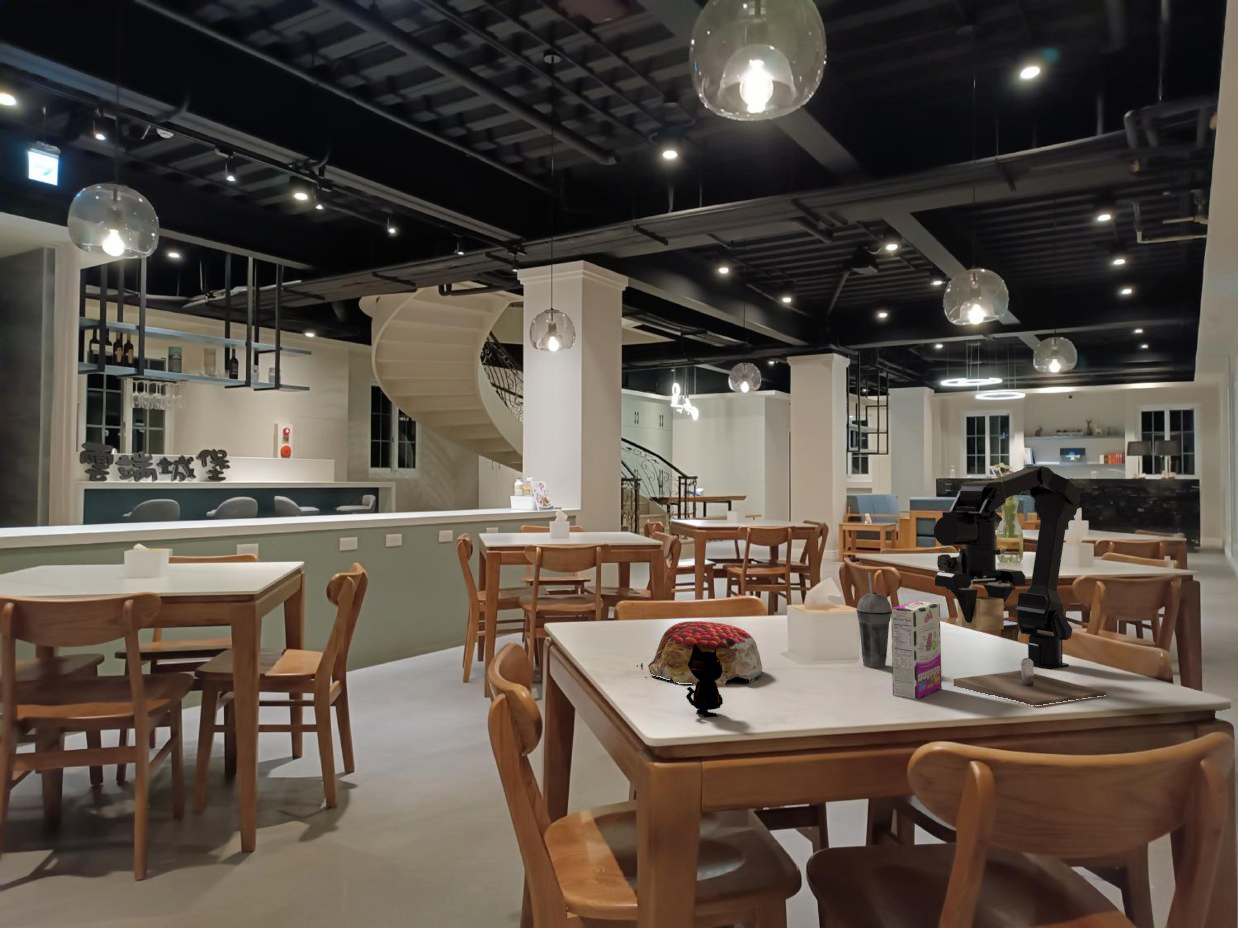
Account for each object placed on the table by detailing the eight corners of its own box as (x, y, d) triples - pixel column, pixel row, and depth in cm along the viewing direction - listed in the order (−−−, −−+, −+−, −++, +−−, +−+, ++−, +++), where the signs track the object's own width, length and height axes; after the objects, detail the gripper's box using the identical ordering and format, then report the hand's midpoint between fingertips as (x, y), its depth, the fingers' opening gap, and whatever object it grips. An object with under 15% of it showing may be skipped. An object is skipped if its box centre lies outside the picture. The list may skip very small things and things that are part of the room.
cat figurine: (734, 720, 133) (734, 647, 133) (700, 727, 130) (700, 651, 130) (709, 710, 139) (709, 640, 139) (675, 715, 136) (676, 644, 136)
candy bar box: (916, 685, 157) (916, 600, 157) (942, 690, 153) (941, 602, 153) (890, 696, 148) (889, 606, 149) (917, 701, 145) (916, 609, 145)
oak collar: (980, 623, 168) (980, 594, 168) (1003, 628, 162) (1003, 598, 162) (957, 625, 166) (957, 596, 166) (980, 630, 160) (980, 600, 160)
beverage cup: (899, 667, 171) (899, 572, 172) (871, 670, 168) (871, 574, 169) (876, 660, 178) (876, 569, 178) (849, 663, 175) (849, 570, 176)
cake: (624, 668, 171) (624, 621, 171) (718, 656, 183) (718, 612, 183) (684, 693, 151) (684, 639, 151) (786, 678, 163) (786, 628, 163)
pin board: (1021, 677, 163) (1021, 645, 163) (1106, 700, 146) (1106, 663, 146) (953, 686, 156) (953, 652, 156) (1034, 711, 139) (1034, 672, 139)
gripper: (984, 540, 175) (984, 612, 175) (915, 542, 168) (915, 617, 168) (1027, 543, 165) (1027, 621, 164) (955, 546, 158) (956, 626, 158)
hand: (980, 621), depth 164 cm, fingers closed on oak collar, 6 cm apart
